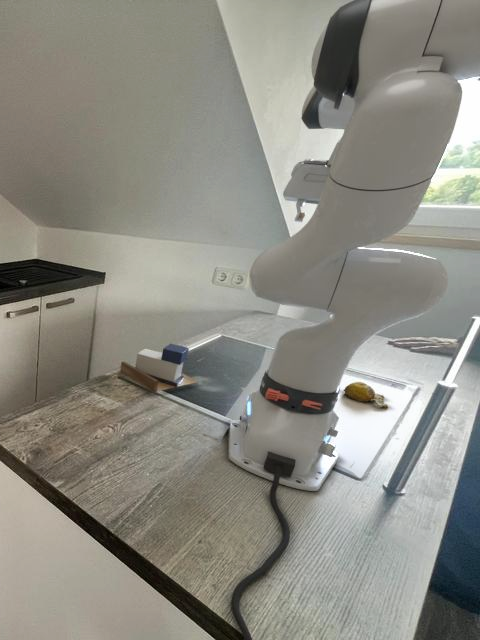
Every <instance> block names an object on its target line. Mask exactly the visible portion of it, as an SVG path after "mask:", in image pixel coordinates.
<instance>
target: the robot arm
mask: <svg viewBox="0 0 480 640" xmlns="http://www.w3.org/2000/svg"><path fill="white" fill-rule="evenodd" d="M322 30H323V31H322V32H321V34H320V35H319V37H318V39H317V42H316V44H315V46H314V49H313V53H312V57H311V66H310V67H311V75H312V79H313V86H312V88H311V89H310V90H309V92H308V94H307V96H306V98H305V100H304V102H303V105H302V109H301V121H302V123H303V124H304V125H305V127H306V128H307V129H308V130H325V129H331V130H332V129H333V130H343V134H342V136H341V137H340V139H339V140H338V141H337V142H336V144H335V145H334V148H333V150H332V152H331V154H330V157H329V159H325V160H324V159H311V158H307V159H304V160H301V161H298V162H297V163H296V164H295V165H294V167H293V168H292V171H291V173H290V175H291V178H290V179H289V181H288V183H286V186H285V188H284V190H283V193H282V197H283V198H284V200H285V201H288V202H295V207H296V208H295V209H296V214H295V217H294V222H297V223H303V220H304V218H305V216H306V212H302V208H304V206H305V204H312V205H316V207H315V210H314V212H313V214H312V216H311V217H310V219H309V220H308V221H307V223H306V224H305V225H304V226H303V227H301V229H299V230H298V231H297V232H296V233H294V234H292V236H289V238H286V239H285V240H283V241H281V242H278V243H276V244H274V245H270V246H269V247H267V248H266V249H264V250H263V251H262V252H261V253H260V254H259V255H258V256H257V257H256V258H255V260H254V261H253V262H252V264H251V267H250V271H249V275H248V282H249V287H250V289H251V291H252V292H253V295H254V296H255V297H257V298H259V299H263V300H266V301H268V302H270V303H271V302H272V303H275V304H278V305H282V306H287V307H295V308H302V309H308V310H316V311H321V312H327V313H328V314H329V316H328V317H327V318H326V319H324V320H323V321H321V322H319V323H316V324H315V323H314V324H310V325H305V326H300V327H296V328H293V329H290V330H287V331H286V332H284V333H283V334H281V336H279V338H278V339H277V341H276V344H275V346H274V351H273V353H272V356H271V360H270V362H269V366H268V369H267V370H265V372H264V373H263V375H262V377H261V381H260V385H259V389H258V390H256V391H253V392H250V393H249V395H248V396H247V398H246V399H247V400H246V404H245V407H244V410H243V413H242V414H241V415H240V416H239V419H231V420H230V422H229V423H230V425H229V426H228V429H227V432H228V435H227V436H228V437H227V438H228V439H227V441H228V459H229V460H230V461H231V462H232V463H233V464H234V465H236V466H238V467H239V468H240V469H241V468H242V469H243V470H245V471H247V472H250V473H251V474H252V475H253V474H254V475H256V476H258V477H261V478H263V479H266V480H268V481H271V482H272V483H271V487H270V490H269V500H270V504H271V507H272V509H273V511H274V513H275V515H276V517H277V518H278V520H279V522H280V523H281V526H282V536H281V540H280V542H279V544H278V546H277V547H276V548H275V549H274V551H273V552H271V554H270V555H269V556H268V557H267V558H266V560H265V561H264V562H263V563H262V565H261V566H260V567H258V569H256V570H255V571H253V572H251V573H249V575H247V576H246V577H244V578H243V579H242V580H241V581H240V582H239V583H238V584H237V585H236V586H235V588H234V590H233V593H232V595H231V600H230V603H231V605H230V606H231V610H232V614H233V616H234V619H235V621H236V623H237V626H238V627H239V630H240V632H241V634H242V637H243V640H253V637H252V635H251V632H250V630H249V628H248V626H247V624H246V621H245V620H244V617H243V616H242V613H241V610H240V600H241V596H242V594H243V592H244V591H245V589H247V587H248V586H250V585H251V584H252V583H254V582H255V581H257V580H259V578H261V577H263V575H265V574H266V573H267V572H268V571H269V570H270V568H271V567H272V566H273V565H274V563H275V562H276V561H277V560H278V559H279V558H280V557H281V555H282V554H284V552H285V550H286V549H287V547H288V546H289V545H288V544H289V542H290V535H291V530H290V526H289V522H288V521H287V519H286V517H285V515H284V514H283V513H282V511H281V509H280V507H279V505H278V503H277V490H278V487H279V485H282V486H283V485H284V486H286V487H290V488H293V489H297V490H301V491H307V492H317V491H319V490H320V488H321V487H322V486H323V484H324V482H325V481H326V479H327V478H328V476H329V474H330V473H331V472H332V470H333V468H334V467H335V465H336V464H337V463H338V460H339V456H340V454H339V452H337V451H336V450H335V449H336V447H337V445H335V444H334V443H331V439H332V438H336V437H337V436H338V433H339V430H338V429H336V427H337V424H338V422H339V419H340V417H339V416H338V414H337V413H336V412H335V411H334V408H335V405H336V403H337V402H338V400H339V397H340V395H339V394H340V391H341V389H340V387H339V386H340V384H341V382H342V379H343V377H344V375H345V372H346V371H347V368H348V367H349V365H350V363H351V361H352V360H353V357H354V356H355V354H356V353H357V352H358V350H359V349H360V348H361V347H362V346H363V345H364V344H365V343H367V342H368V341H369V340H370V339H372V337H374V336H376V335H377V334H379V333H380V332H382V331H385V330H387V328H390V327H392V326H395V325H397V324H399V323H402V322H406V321H408V320H413V319H416V318H418V317H420V316H422V315H424V314H426V313H427V312H429V311H430V310H432V309H433V308H434V307H435V306H436V305H437V304H438V303H439V302H441V300H442V298H443V297H444V295H445V293H446V291H447V288H448V283H449V278H448V272H447V269H446V268H445V266H444V264H443V263H442V262H441V260H439V258H435V257H431V256H429V255H428V256H427V255H423V254H420V253H414V252H411V251H406V250H405V251H404V250H400V249H399V250H398V249H386V248H385V249H384V248H371V247H370V248H369V247H366V246H369V245H373V244H377V243H379V242H382V241H385V240H387V239H389V238H391V237H393V236H394V235H396V234H397V233H399V232H400V231H402V230H403V229H404V228H405V227H406V226H408V225H409V224H410V223H411V222H412V220H414V218H415V216H416V214H417V211H418V210H419V207H420V206H421V203H422V201H423V200H424V197H425V196H426V194H427V192H428V189H429V187H430V185H431V183H432V181H433V179H434V177H435V175H436V173H437V171H438V170H439V168H440V165H441V163H442V161H443V159H444V156H445V154H446V152H447V149H448V147H449V144H450V141H451V139H452V135H453V133H454V130H455V126H456V123H457V119H458V117H459V112H460V108H461V103H462V100H463V89H462V85H461V83H462V82H467V81H470V80H478V82H480V0H351V1H349V2H347V3H345V4H343V5H342V6H340V7H339V8H337V10H336V11H335V12H334V13H333V14H332V16H330V17H329V20H328V22H327V24H326V26H325V27H324V29H322Z"/></svg>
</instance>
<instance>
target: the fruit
mask: <svg viewBox="0 0 480 640" xmlns="http://www.w3.org/2000/svg"><path fill="white" fill-rule="evenodd" d="M343 392H345V394H346V396H348V397H349V398H351V399H352V400H355V401H356V402H363V403H364V402H368V401H375V405H376V406H377V407H378V408H380V407H381V408H389V406H388V404H386V403H384V402H385V401H384V400H385V396H384V395H383V394H379V393H376V392H375V390H374V389H373V388H372V386H370V385H368V384H367V383H365V382H362V381H356V382H352V383H350V384H348V385H347V386H345V388H344V389H343ZM348 397H347V398H348Z"/></svg>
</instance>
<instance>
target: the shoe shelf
mask: <svg viewBox="0 0 480 640" xmlns="http://www.w3.org/2000/svg"><path fill="white" fill-rule="evenodd" d="M119 369H120V370H119V371H120V373H122V374H123V375H125V376H126V377H128V378H129V379H131V380H133V381H135V382H136V383H137V384H139V385H141V386H142V387H144V388H146V389H147V390H149V391H150V392H152V393H156V392H161V391H164V390H170V389H174V388H178V387H183V386H186V385H191V384H196V383H199V382H200V381H198V380H197V379H195V378H192V377H191V376H189V375H187V374H185V373H184V372H181V376H184V377H185V378H184V381H182V382H181V383H180V384H179V385H178V386H177V387H175V386H172V385H169V384H165V383H162V382H159V381H158V380H156V379H155V378H153V377H151V376H149V375H148V374H146V373H144V372H142V371H141V370H139V369H137V368H135V366H134V365H132V364H130V363H128V362H126V361H121V364H120V368H119Z"/></svg>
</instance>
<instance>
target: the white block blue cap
mask: <svg viewBox="0 0 480 640" xmlns="http://www.w3.org/2000/svg"><path fill="white" fill-rule="evenodd" d="M189 350H190V347H186V346H182V345H179V344H175V343H169V344H168V345H166V346H165V347H163V348H162V352H161V351H156V350H152V349H149V348H144V349H142V350H140V351H139V352H137V355H136V361H135V366H134V367H135V368H137V369H139V370H141V371H142V372H144V373H146V374H148V375H149V376H151V377H153V378H155V379H156V380H158V381H159V382H162V383H165V384H169V385H172V386H175V387H174V388H178V387H177V386H178V385H179V384H180V383H181V382H182V381H184V378H185V377H184V376H181V373H183V372H182V371H183V367H184V362H186V361H187V359H188V355H189Z"/></svg>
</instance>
